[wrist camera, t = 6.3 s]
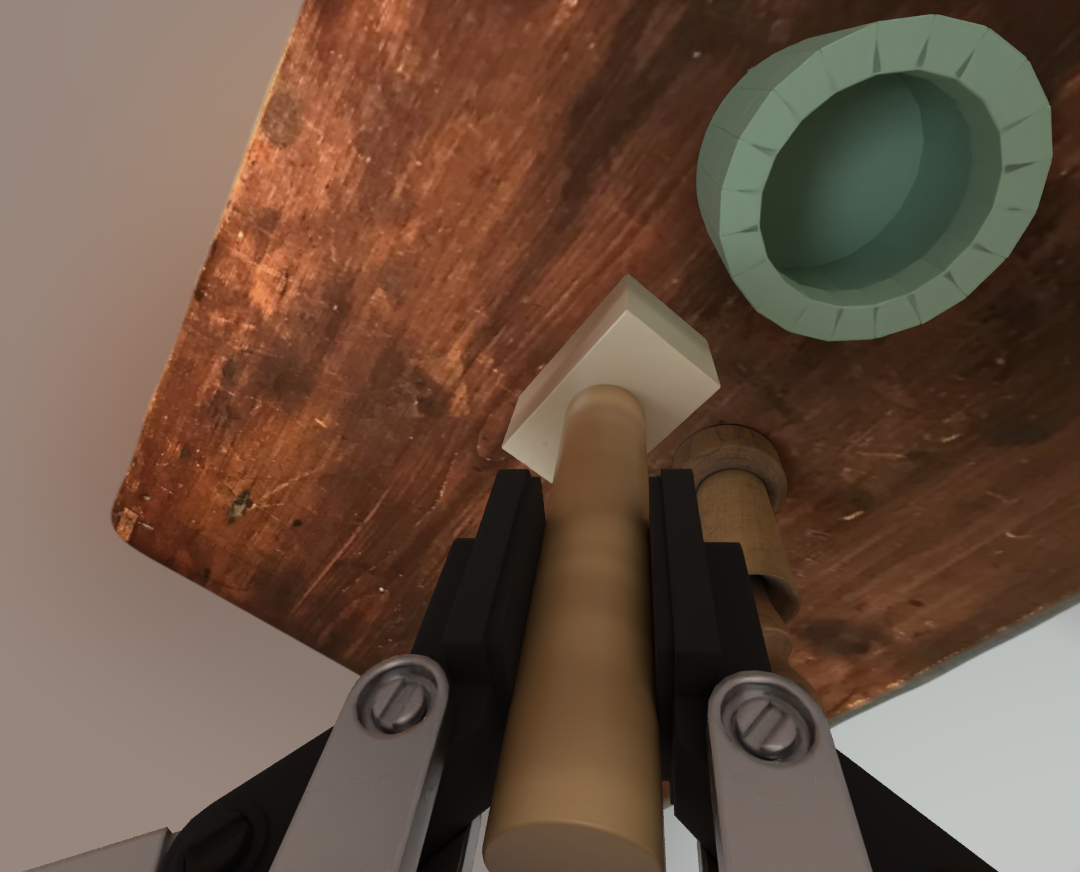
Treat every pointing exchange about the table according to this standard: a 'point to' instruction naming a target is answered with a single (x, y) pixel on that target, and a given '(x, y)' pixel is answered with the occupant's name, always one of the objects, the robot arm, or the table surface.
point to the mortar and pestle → (748, 525)
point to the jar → (874, 174)
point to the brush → (593, 596)
